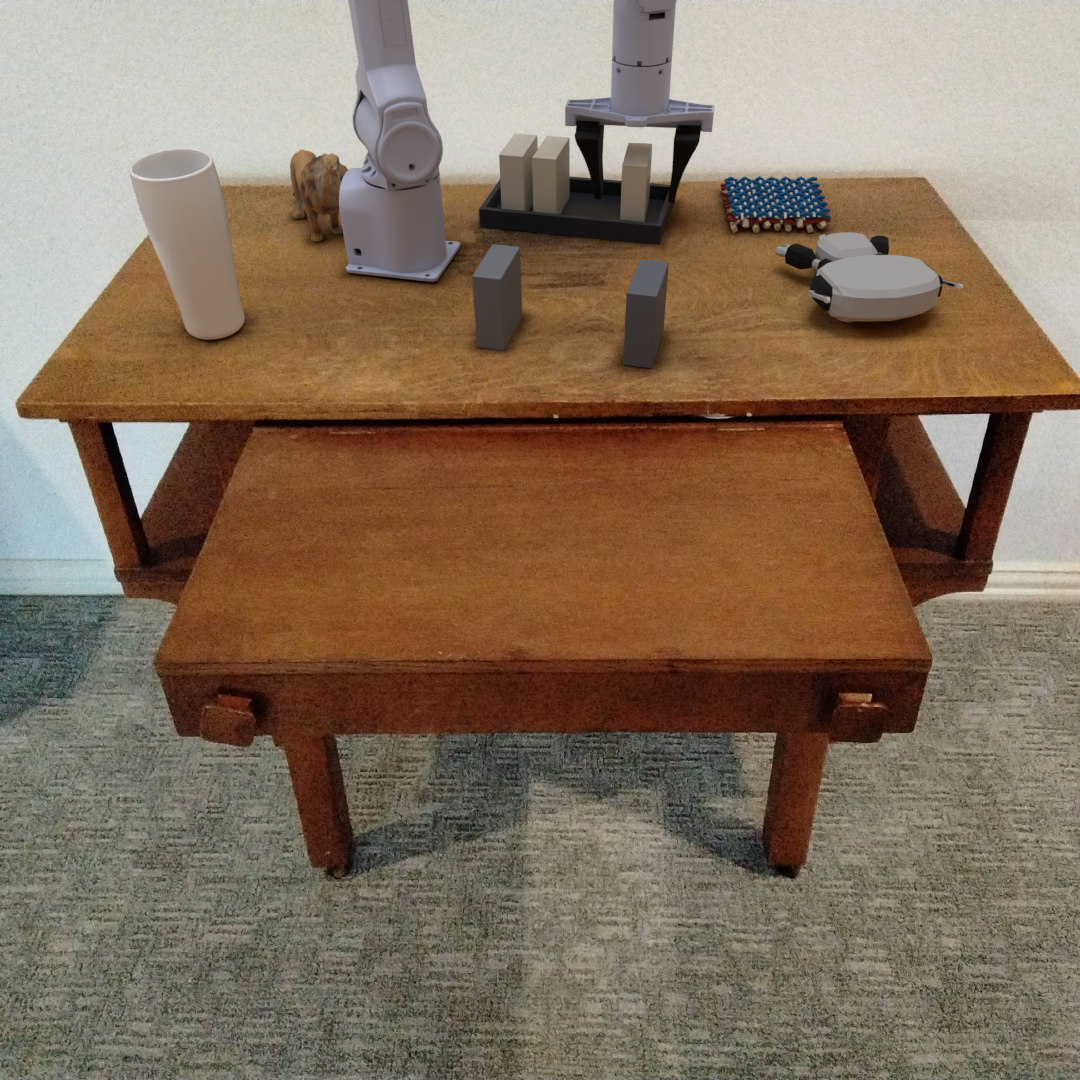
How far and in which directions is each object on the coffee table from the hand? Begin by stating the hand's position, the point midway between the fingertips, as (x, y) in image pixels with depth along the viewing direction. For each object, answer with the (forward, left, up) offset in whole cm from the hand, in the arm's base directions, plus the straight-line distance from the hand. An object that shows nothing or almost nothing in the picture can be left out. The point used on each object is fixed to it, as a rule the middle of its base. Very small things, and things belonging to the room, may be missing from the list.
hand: (635, 197), depth 101 cm
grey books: (-1, -25, -2) cm, 25 cm away
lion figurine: (-32, -8, -3) cm, 33 cm away
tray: (-6, 0, -2) cm, 7 cm away
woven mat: (+14, +5, -3) cm, 15 cm away
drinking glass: (-33, -30, -3) cm, 45 cm away
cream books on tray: (-11, 0, -2) cm, 11 cm away
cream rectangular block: (0, 0, -2) cm, 2 cm away
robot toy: (+23, -12, -3) cm, 26 cm away
